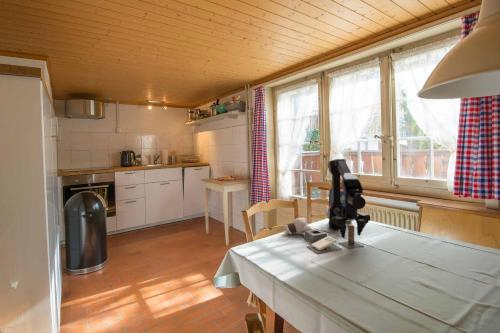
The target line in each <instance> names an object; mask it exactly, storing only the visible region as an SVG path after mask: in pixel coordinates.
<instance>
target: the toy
mask: <svg viewBox="0 0 500 333" xmlns="http://www.w3.org/2000/svg"><path fill="white" fill-rule="evenodd" d="M282 230H285V231H284V234H287V235H293V234H298V235H299V236H301V235H303V234H305V231H308V230H314V229H313V228H311V227H310V226H309V224H307V218H305V217H297V218H295V219H294V220H293V222H291V223H286V225H284V227H283V228H282Z"/></svg>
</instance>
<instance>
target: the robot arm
mask: <svg viewBox="0 0 500 333" xmlns="http://www.w3.org/2000/svg"><path fill="white" fill-rule="evenodd" d="M346 160H347V159H345V158H336V159H334V160H333V159H331V160H329V161H328V162H327V168H328V172H329V174H330V176H331V188H332V201H331V203H330V205H329V204H328V209H327V212H326V218H328V226H327V228H328V229H330V230H333V231H339V234H340V235H341V237H342V238H343V239H345V237H346V232H347V227H348V225H347V224H346V221H352V222H353V221H355V223H356V233H357V235H358V236H361V234H362V232H363V230H365V229H364V228H365V227H366V226H367V224H368V223H369V222H370V221H371V216H370V214H368V213H365V212H358V210H361V209H363V208H365V206H366V204H367V203H366V200H365V198H364V197H363V196H362V194H363V193H364V189H363V186H362V183H361V180H360V179H359V178H358V177H357V176H356V175H355V174H354V173H352V172H351V170H350V168H349V165H348V164H347V161H346ZM341 178H342V179H341ZM340 183H342V188H343V191H344V193H345V194H344V198H345V206H343V205H342V203H341V200H340ZM330 215H331V216H330ZM344 217H345V218H344Z"/></svg>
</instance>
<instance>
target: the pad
mask: <svg viewBox="0 0 500 333" xmlns="http://www.w3.org/2000/svg"><path fill="white" fill-rule="evenodd" d="M338 244H339V245H341V246H342V247H345V248H347V249H348V250H353V249H358V248H359V249H360V248H363V247H365V245H363V244H361V243H359V242H357V241H354V245H349V244H348V240H346V241H340V242H338Z"/></svg>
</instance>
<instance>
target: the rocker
mask: <svg viewBox="0 0 500 333" xmlns="http://www.w3.org/2000/svg"><path fill="white" fill-rule="evenodd" d="M337 242H338V241H337V239H336V238H334V237H331V236H330V235H327V237H325V238H323V239H321V240H319V241H317V242H315V243H311V245H312V247H314V248H316V249H317V250H319V251H320V250H322V249H324V248H326V247H328V246H330V245H332V244H334V245H335V243H337Z"/></svg>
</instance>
